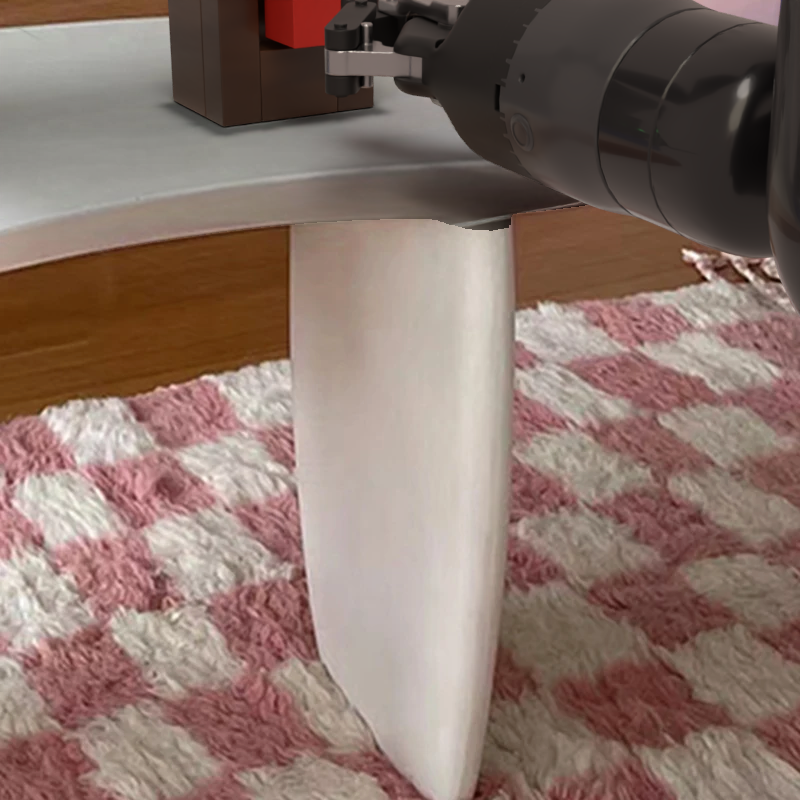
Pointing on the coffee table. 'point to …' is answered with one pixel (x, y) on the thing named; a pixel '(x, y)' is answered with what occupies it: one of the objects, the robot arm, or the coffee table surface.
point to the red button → (299, 21)
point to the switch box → (245, 66)
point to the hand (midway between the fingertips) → (358, 8)
